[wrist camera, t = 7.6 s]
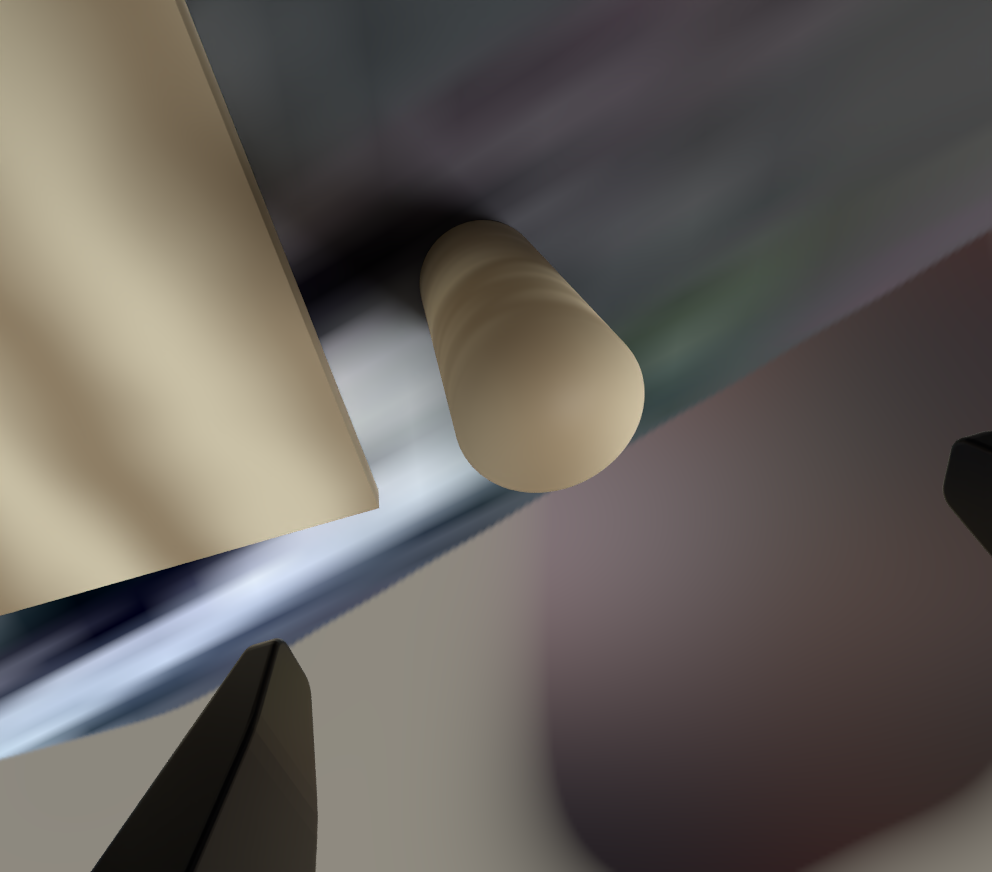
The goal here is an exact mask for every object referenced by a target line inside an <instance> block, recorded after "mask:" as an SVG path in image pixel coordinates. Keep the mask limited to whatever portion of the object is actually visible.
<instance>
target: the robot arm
mask: <svg viewBox="0 0 992 872" xmlns="http://www.w3.org/2000/svg"><path fill="white" fill-rule="evenodd" d="M943 495H944V498H945V500H946V502H947V504H948V505H949V507H950V508H951V509H952V510H953V512H954V513H955V514H956V515H957V517H958V518H959V519H960V520H961V521H962V522H963V524H964V525H965V526H966V527H967V528H968V530H969V531H970V532H971V533H972V534H973V536H975V538H976V539H977V540H978V542H979V543H980V544H981V545H982V546H983V548H984V549H985V550H986V551H987V552H988V553H989V555H990V556H991V557H992V431H985V432H981V433H977V434H974V435H970V436H967V437H964V438H960V439H959V440H957V441H956V442H955V443H954V444H953V446H952V448H951V452H950V456H949V461H948V465H947V470H946V474H945V479H944V483H943ZM317 824H318V811H317V787H316V770H315V752H314V736H313V717H312V700H311V690H310V686H309V682H308V679H307V677H306V675H305V673H304V672H303V670H302V668H301V667H300V665H299V663H298V662H297V660H296V658H295V657H294V655H293V653H292V652H291V650H290V648H289V646H288V645H287V644H286V642H285V641H284V640H282V639H280V638H276V639H272V640H269V641H265V642H262V643H258V644H255V645H252V646H250V647H248V648H247V649H246V650H245V651H244V653H243V654H242V655H241V657H240V658H239V660H238V661H237V663H236V664H235V666H234V667H233V668H232V670H231V671H230V673H229V674H228V676H227V677H226V678H225V680H224V681H223V683H222V684H221V686H220V687H219V688H218V690H217V691H216V693H215V694H214V696H213V697H212V699H211V700H210V701H209V703H208V704H207V706H206V707H205V709H204V710H203V712H202V713H201V715H200V716H199V717H198V719H197V720H196V722H195V723H194V724H193V726H192V727H191V729H190V730H189V732H188V733H187V734H186V736H185V738H184V739H183V740H182V742H181V743H180V745H179V746H178V748H177V749H176V750H175V752H174V753H173V755H172V756H171V757H170V759H169V760H168V762H167V763H166V765H165V766H164V768H163V769H162V770H161V772H160V773H159V775H158V776H157V778H156V779H155V781H154V782H153V783H152V785H151V786H150V788H149V789H148V790H147V792H146V793H145V795H144V796H143V798H142V799H141V801H140V802H139V803H138V805H137V806H136V808H135V809H134V811H133V812H132V813H131V815H130V816H129V818H128V819H127V821H126V822H125V823H124V825H123V826H122V828H121V829H120V831H119V832H118V834H117V835H116V837H115V838H114V840H113V841H112V842H111V844H110V845H109V846H108V848H107V849H106V851H105V852H104V854H103V855H102V857H101V858H100V859H99V861H98V862H97V864H96V865H95V867H94V868H93V869H92V871H91V872H315V869H316V850H317Z"/></svg>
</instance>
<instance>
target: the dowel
mask: <svg viewBox="0 0 992 872" xmlns="http://www.w3.org/2000/svg"><path fill="white" fill-rule="evenodd" d="M420 294H421V298H422V303H423V307H424V311H425V314H426V318H427V322H428V326H429V330H430V334H431V338H432V342H433V346H434V350H435V354H436V358H437V362H438V366H439V370H440V374H441V378H442V382H443V386H444V390H445V394H446V398H447V402H448V406H449V410H450V414H451V418H452V422H453V426H454V430H455V433H456V437H457V441H458V443H459V446H460V449H461V450H462V452H463V454H464V456H465V458H466V459H467V460H468V462H469V463H470V464H471V465H472V467H473V468H474V469H475V470H476V471H478V472H479V473H480V474H481V475H482V476H484V477H485V478H487V479H488V480H489V481H491V482H493V483H495V484H497V485H499V486H502V487H505V488H508V489H511V490H516V491H520V492H530V493H540V492H551V491H557V490H561V489H565V488H568V487H571V486H574V485H577V484H579V483H581V482H583V481H586V480H588V479H589V478H591V477H593V476H594V475H596V474H598V473H599V472H601V471H602V470H603V469H605V468H606V467H607V466H608V465H609V464H611V463H612V462H613V461H614V460H615V459H616V458H617V456H619V455H620V453H621V452H622V451H623V450H624V449H625V447H626V446H627V444H628V443H629V442H630V440H631V438H632V436H633V435H634V433H635V431H636V429H637V426H638V424H639V421H640V418H641V415H642V411H643V405H644V382H643V376H642V373H641V370H640V367H639V364H638V362H637V360H636V358H635V357H634V355H633V353H632V352H631V351H630V349H629V348H628V347H627V345H626V344H625V343H624V342H623V341H622V340H621V339H620V338H619V337H618V336H617V335H616V334H615V333H614V332H613V331H612V330H611V328H610V327H609V326H608V325H607V324H606V323H605V322H604V321H603V320H602V319H601V318H600V317H599V316H598V315H597V314H596V313H595V311H594V310H593V309H592V308H591V307H590V306H589V305H588V304H587V303H586V302H585V301H584V300H583V299H582V298H581V297H580V296H579V294H578V293H577V292H576V291H575V290H574V289H573V288H572V287H571V286H570V285H569V284H568V283H567V282H566V281H565V280H564V279H563V277H562V276H561V275H560V274H559V273H558V272H557V271H556V270H555V269H554V268H553V267H552V266H551V265H550V264H549V263H548V262H547V260H546V259H545V258H544V257H543V256H542V255H541V254H540V253H539V252H538V251H537V250H536V249H535V248H534V247H533V246H532V245H531V243H530V242H529V241H528V240H527V239H526V238H525V237H524V236H523V235H522V234H521V233H519V232H518V231H517V230H515V229H513V228H512V227H510V226H508V225H505V224H503V223H500V222H496V221H490V220H475V221H470V222H466V223H463V224H460V225H458V226H456V227H454V228H452V229H450V230H449V231H447V232H446V233H444V234H443V235H442V236H441V237H440V238H439V239H438V240H437V241H436V242H435V243H434V244H433V245H432V247H431V248H430V250H429V251H428V253H427V255H426V257H425V259H424V262H423V265H422V268H421V273H420Z"/></svg>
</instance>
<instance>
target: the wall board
mask: <svg viewBox="0 0 992 872" xmlns="http://www.w3.org/2000/svg"><path fill="white" fill-rule="evenodd" d="M377 508H379V494H378V488H377V486H376V483H375V481H374V478H373V476H372V473H371V470H370V468H369V465H368V463H367V460H366V458H365V455H364V453H363V450H362V448H361V445H360V443H359V440H358V438H357V435H356V432H355V430H354V427H353V425H352V422H351V420H350V417H349V415H348V412H347V410H346V407H345V405H344V402H343V400H342V397H341V395H340V392H339V389H338V387H337V384H336V382H335V379H334V377H333V374H332V372H331V369H330V367H329V364H328V362H327V359H326V357H325V354H324V352H323V349H322V346H321V344H320V341H319V339H318V336H317V334H316V331H315V329H314V326H313V324H312V321H311V319H310V316H309V314H308V311H307V308H306V306H305V303H304V301H303V298H302V296H301V293H300V291H299V288H298V286H297V283H296V281H295V278H294V276H293V273H292V271H291V268H290V265H289V263H288V260H287V258H286V255H285V253H284V250H283V248H282V245H281V243H280V240H279V238H278V235H277V233H276V230H275V228H274V225H273V222H272V220H271V217H270V215H269V212H268V210H267V207H266V205H265V202H264V200H263V197H262V195H261V192H260V190H259V187H258V184H257V182H256V179H255V177H254V174H253V172H252V169H251V167H250V164H249V162H248V159H247V157H246V154H245V152H244V149H243V147H242V144H241V141H240V139H239V136H238V134H237V131H236V129H235V126H234V124H233V121H232V119H231V116H230V114H229V111H228V109H227V106H226V104H225V101H224V98H223V96H222V93H221V91H220V88H219V86H218V83H217V81H216V78H215V76H214V73H213V71H212V68H211V66H210V63H209V60H208V58H207V55H206V53H205V50H204V48H203V45H202V43H201V40H200V38H199V35H198V33H197V30H196V28H195V25H194V23H193V20H192V17H191V15H190V12H189V10H188V7H187V5H186V2H185V0H0V615H4V614H7V613H11V612H14V611H18V610H21V609H25V608H29V607H32V606H36V605H39V604H43V603H46V602H50V601H53V600H57V599H60V598H64V597H67V596H71V595H74V594H78V593H81V592H85V591H88V590H92V589H95V588H99V587H102V586H106V585H110V584H113V583H117V582H120V581H124V580H127V579H131V578H134V577H138V576H141V575H145V574H148V573H152V572H155V571H159V570H162V569H166V568H169V567H173V566H176V565H180V564H183V563H187V562H190V561H194V560H198V559H201V558H205V557H208V556H212V555H215V554H219V553H222V552H226V551H229V550H233V549H236V548H240V547H243V546H247V545H250V544H254V543H257V542H261V541H264V540H268V539H271V538H275V537H279V536H282V535H286V534H289V533H293V532H296V531H300V530H303V529H307V528H310V527H314V526H317V525H321V524H324V523H328V522H331V521H335V520H338V519H342V518H345V517H349V516H352V515H356V514H360V513H363V512H367V511H370V510H374V509H377Z"/></svg>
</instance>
